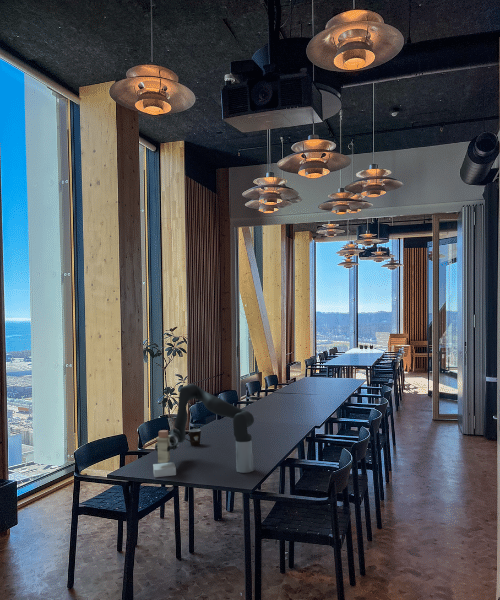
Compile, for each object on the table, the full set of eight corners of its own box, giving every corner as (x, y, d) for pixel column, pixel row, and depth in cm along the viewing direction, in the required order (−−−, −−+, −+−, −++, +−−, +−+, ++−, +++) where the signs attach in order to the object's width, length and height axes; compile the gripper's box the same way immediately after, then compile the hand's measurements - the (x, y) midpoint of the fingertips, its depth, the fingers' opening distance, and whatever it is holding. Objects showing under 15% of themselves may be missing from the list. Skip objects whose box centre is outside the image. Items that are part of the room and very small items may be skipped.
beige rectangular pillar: (160, 459, 286) (159, 435, 287) (171, 459, 285) (170, 435, 286) (156, 462, 280) (156, 438, 280) (168, 462, 279) (167, 438, 279)
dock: (173, 469, 289) (173, 462, 290) (175, 475, 278) (175, 467, 278) (153, 471, 286) (153, 464, 287) (154, 477, 275) (154, 470, 275)
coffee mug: (202, 443, 350) (202, 429, 351) (200, 446, 342) (199, 431, 342) (186, 443, 352) (186, 429, 352) (183, 446, 343) (183, 432, 343)
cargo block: (160, 435, 285) (160, 430, 286) (168, 435, 285) (168, 430, 285) (158, 437, 281) (158, 432, 281) (166, 437, 281) (166, 431, 281)
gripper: (158, 436, 298) (150, 443, 281) (181, 435, 296) (174, 443, 280) (158, 448, 298) (150, 456, 281) (182, 448, 296) (175, 456, 279)
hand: (162, 449), depth 280 cm, fingers closed on beige rectangular pillar, 5 cm apart
